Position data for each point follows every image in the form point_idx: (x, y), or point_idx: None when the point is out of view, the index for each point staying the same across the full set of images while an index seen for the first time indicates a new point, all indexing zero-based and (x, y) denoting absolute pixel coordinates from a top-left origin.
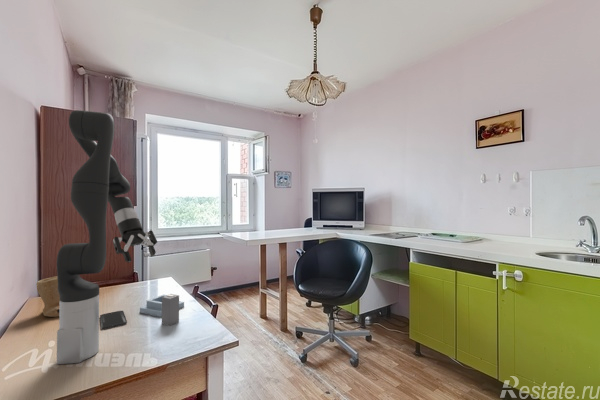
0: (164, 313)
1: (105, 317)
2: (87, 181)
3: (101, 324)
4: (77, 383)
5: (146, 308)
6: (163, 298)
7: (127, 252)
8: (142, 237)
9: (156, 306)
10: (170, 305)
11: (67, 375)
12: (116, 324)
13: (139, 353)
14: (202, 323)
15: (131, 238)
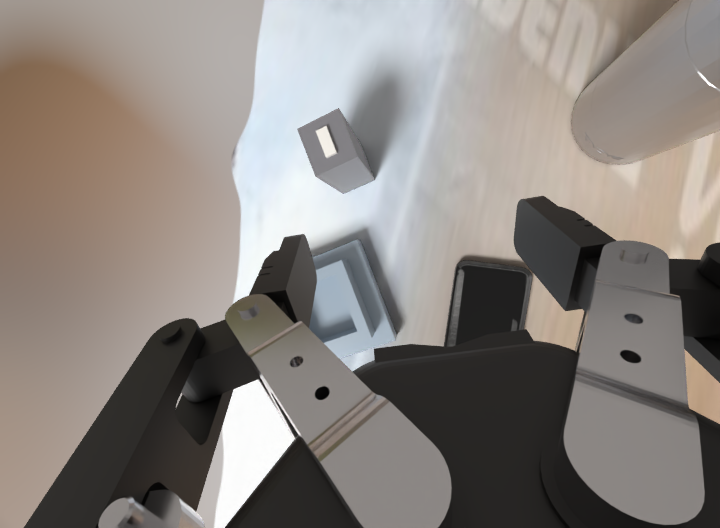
0: (364, 159)
1: None
2: None
3: (526, 303)
4: None
5: (380, 312)
6: (354, 149)
7: (590, 238)
8: (334, 408)
9: (354, 284)
10: (345, 119)
11: (669, 6)
12: (488, 265)
13: (487, 11)
14: (284, 92)
15: (627, 394)
